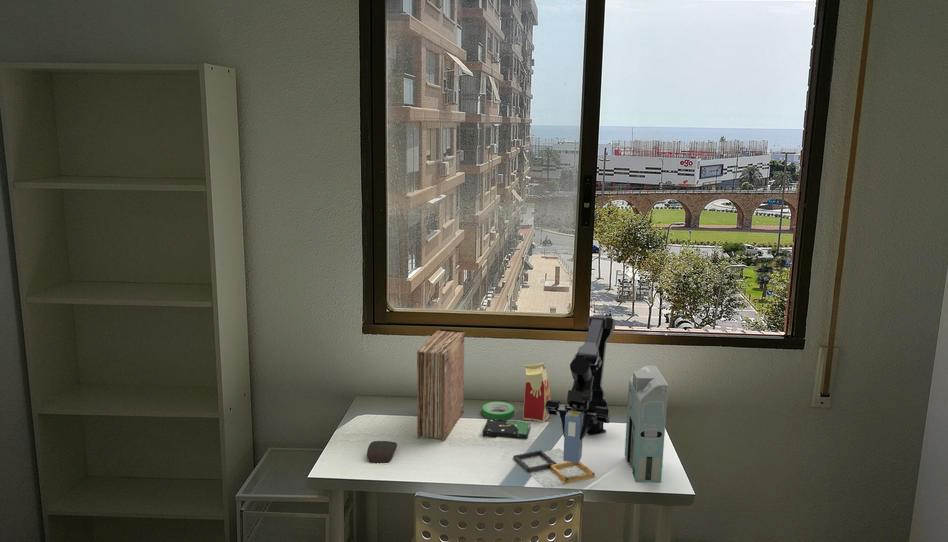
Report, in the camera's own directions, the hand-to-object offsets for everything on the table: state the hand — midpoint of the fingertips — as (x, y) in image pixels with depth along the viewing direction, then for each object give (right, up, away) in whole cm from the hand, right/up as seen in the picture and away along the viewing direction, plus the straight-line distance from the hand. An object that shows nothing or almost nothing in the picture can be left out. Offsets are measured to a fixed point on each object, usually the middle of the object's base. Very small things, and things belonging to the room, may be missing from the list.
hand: (572, 438), depth 227 cm
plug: (0, -7, +3) cm, 7 cm away
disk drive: (-18, -6, +32) cm, 37 cm away
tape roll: (-20, -2, +47) cm, 51 cm away
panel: (-5, -11, +7) cm, 14 cm away
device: (+22, -11, +7) cm, 26 cm away
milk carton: (-7, -2, +45) cm, 46 cm away
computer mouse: (-57, -9, +15) cm, 60 cm away
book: (-40, -4, +37) cm, 55 cm away
